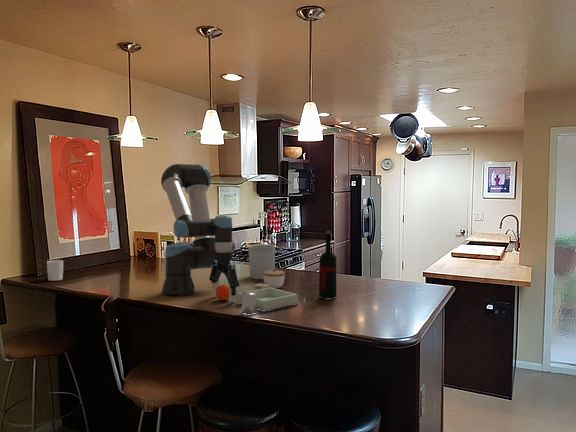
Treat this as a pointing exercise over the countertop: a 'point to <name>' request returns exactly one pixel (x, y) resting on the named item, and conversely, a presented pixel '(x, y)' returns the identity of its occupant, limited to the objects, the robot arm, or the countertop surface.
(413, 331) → the countertop surface
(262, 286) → the wood block
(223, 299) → the clementine
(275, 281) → the lidded jar
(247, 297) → the metal can
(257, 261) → the utensil holder
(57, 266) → the white cup
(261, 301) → the sage tray
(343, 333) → the countertop surface
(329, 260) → the wine bottle
